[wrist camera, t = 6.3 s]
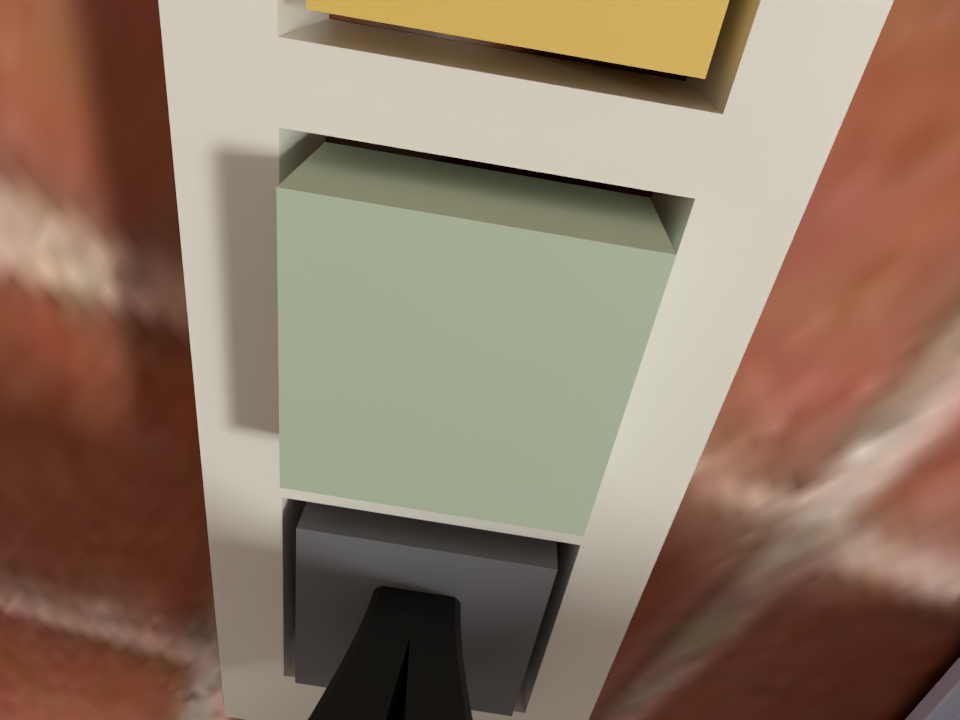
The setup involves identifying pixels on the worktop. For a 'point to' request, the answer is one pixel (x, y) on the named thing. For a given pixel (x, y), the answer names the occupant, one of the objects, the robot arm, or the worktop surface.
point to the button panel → (507, 142)
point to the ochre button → (566, 26)
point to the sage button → (458, 334)
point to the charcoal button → (424, 568)
